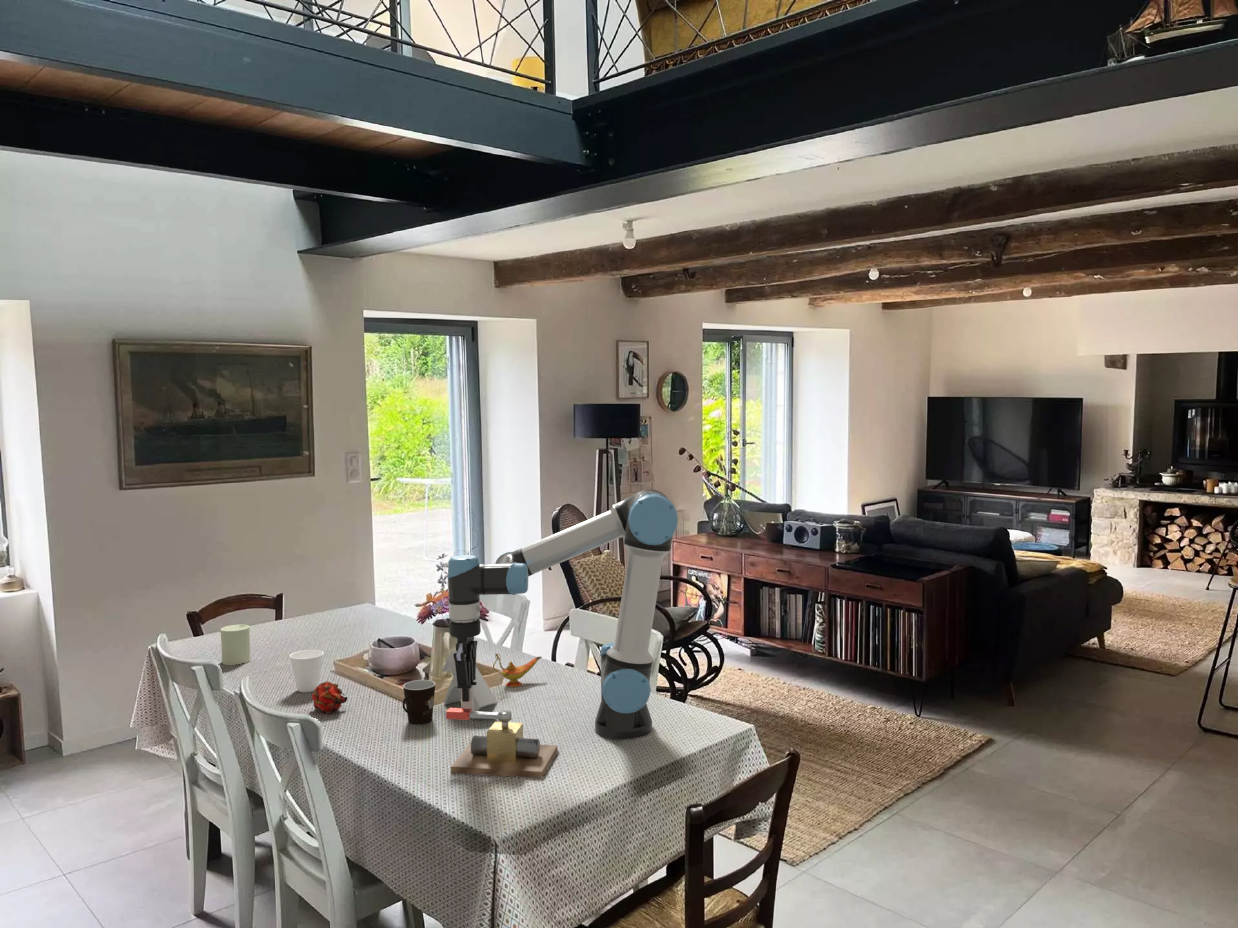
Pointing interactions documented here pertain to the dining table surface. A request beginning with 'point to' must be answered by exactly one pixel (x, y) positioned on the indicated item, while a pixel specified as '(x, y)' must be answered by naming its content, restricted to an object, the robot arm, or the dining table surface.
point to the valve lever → (477, 714)
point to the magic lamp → (515, 671)
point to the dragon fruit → (328, 697)
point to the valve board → (505, 764)
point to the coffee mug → (419, 701)
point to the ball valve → (505, 743)
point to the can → (235, 644)
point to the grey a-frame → (481, 691)
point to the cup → (306, 669)
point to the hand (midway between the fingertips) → (467, 712)
